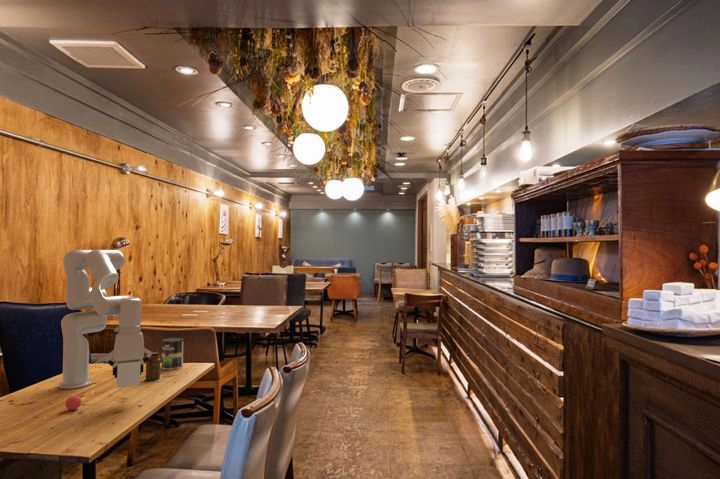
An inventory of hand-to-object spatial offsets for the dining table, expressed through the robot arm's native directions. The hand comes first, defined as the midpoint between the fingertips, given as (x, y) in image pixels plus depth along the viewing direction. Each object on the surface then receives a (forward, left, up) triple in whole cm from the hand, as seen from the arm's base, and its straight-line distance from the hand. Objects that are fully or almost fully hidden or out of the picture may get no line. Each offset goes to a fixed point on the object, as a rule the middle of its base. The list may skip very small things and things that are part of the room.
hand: (128, 375), depth 172 cm
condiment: (-31, +12, -11) cm, 35 cm away
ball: (-3, -18, -8) cm, 20 cm away
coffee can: (-50, +24, -11) cm, 57 cm away
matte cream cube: (0, 0, -3) cm, 3 cm away
